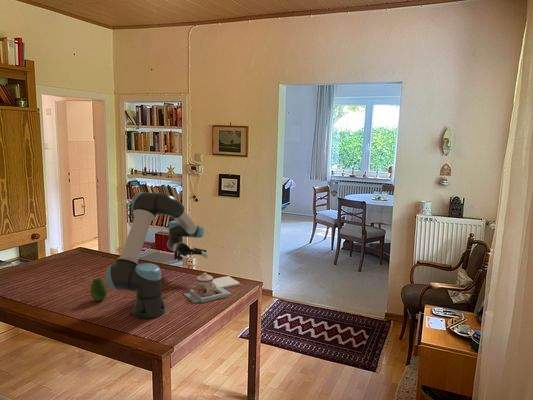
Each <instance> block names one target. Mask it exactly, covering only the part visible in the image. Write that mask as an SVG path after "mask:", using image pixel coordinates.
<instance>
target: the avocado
mask: <svg viewBox="0 0 533 400" xmlns="http://www.w3.org/2000/svg"><path fill="white" fill-rule="evenodd" d="M107 294H108V290H107V285H106V284H105V282H104V280H103V279H102V278H100V277H95V278H94V279H93V280H92V283H91V287H90V295H91V298H92V299H93V301H94V300H95V301H97V302H98V301H103V300H104V299H105V298H106V297H107V296H108V295H107Z"/></svg>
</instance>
